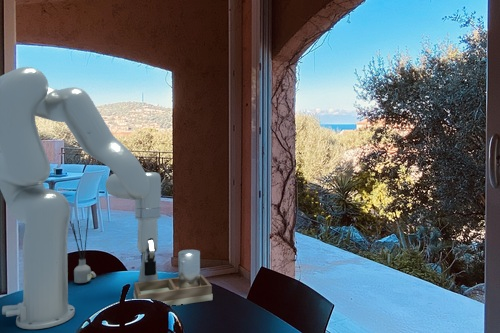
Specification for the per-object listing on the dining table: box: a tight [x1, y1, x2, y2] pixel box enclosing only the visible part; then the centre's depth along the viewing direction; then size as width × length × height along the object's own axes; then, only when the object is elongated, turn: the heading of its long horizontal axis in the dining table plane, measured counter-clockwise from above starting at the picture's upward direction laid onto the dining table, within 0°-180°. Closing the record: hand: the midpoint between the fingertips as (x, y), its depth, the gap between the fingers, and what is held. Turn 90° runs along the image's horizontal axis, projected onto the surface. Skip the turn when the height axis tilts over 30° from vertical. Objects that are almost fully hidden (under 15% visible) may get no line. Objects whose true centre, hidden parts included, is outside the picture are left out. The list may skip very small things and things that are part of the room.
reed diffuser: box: [69, 218, 97, 284], centre depth 117 cm, size 10×7×20 cm
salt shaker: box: [138, 250, 159, 282], centre depth 113 cm, size 6×6×13 cm
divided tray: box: [132, 273, 214, 307], centre depth 104 cm, size 20×11×4 cm, turn 113°
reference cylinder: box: [177, 249, 201, 289], centre depth 106 cm, size 6×6×11 cm
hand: (148, 270), depth 113 cm, fingers open, 7 cm apart
